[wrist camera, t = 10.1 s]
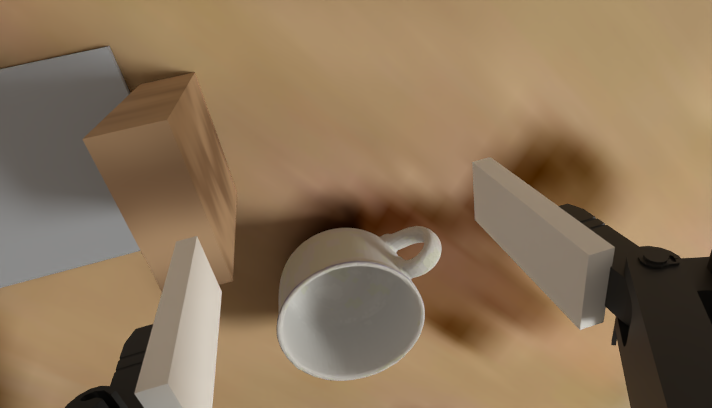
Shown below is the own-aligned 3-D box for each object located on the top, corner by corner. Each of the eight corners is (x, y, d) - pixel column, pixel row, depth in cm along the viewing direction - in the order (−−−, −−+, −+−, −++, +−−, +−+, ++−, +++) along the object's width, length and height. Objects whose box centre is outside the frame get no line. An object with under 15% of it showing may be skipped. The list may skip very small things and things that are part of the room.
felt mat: (192, 234, 33) (192, 236, 32) (-27, 292, 31) (-31, 295, 31) (109, 45, 26) (107, 47, 25) (-180, 106, 24) (-186, 108, 24)
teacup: (316, 331, 40) (330, 403, 33) (245, 256, 35) (244, 324, 28) (442, 254, 39) (483, 312, 32) (390, 164, 34) (426, 211, 27)
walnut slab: (237, 192, 32) (232, 281, 22) (190, 204, 32) (166, 299, 22) (194, 72, 28) (167, 119, 18) (140, 84, 27) (82, 138, 18)
